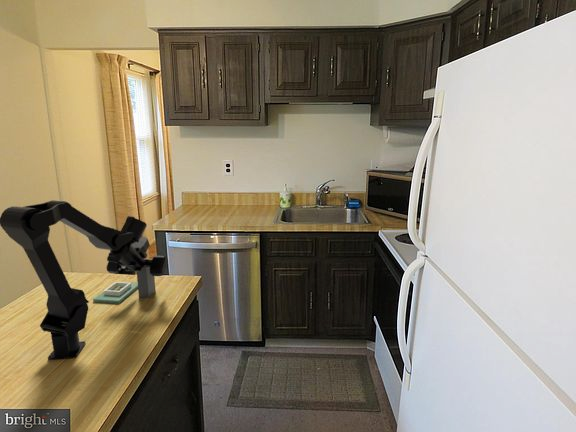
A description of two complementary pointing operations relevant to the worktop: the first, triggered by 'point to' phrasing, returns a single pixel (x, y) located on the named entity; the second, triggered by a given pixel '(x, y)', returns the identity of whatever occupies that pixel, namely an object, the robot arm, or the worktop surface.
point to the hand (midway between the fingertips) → (147, 274)
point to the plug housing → (145, 282)
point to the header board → (116, 292)
